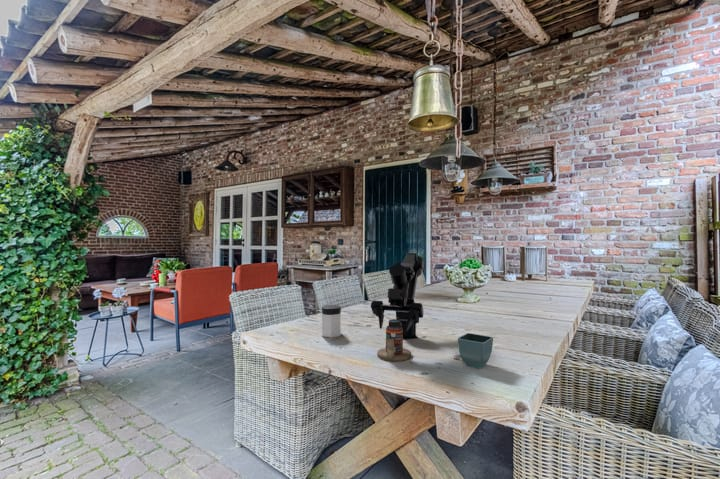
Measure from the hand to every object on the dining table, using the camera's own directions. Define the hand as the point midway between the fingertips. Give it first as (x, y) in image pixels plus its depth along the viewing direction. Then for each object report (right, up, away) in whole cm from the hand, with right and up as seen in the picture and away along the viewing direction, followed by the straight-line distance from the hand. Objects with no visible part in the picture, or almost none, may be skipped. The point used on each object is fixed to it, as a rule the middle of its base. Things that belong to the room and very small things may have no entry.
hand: (393, 329), depth 120 cm
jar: (-24, -10, +28) cm, 38 cm away
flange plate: (0, -10, +1) cm, 10 cm away
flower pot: (+26, -10, -8) cm, 29 cm away
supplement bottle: (+1, -9, +2) cm, 9 cm away
